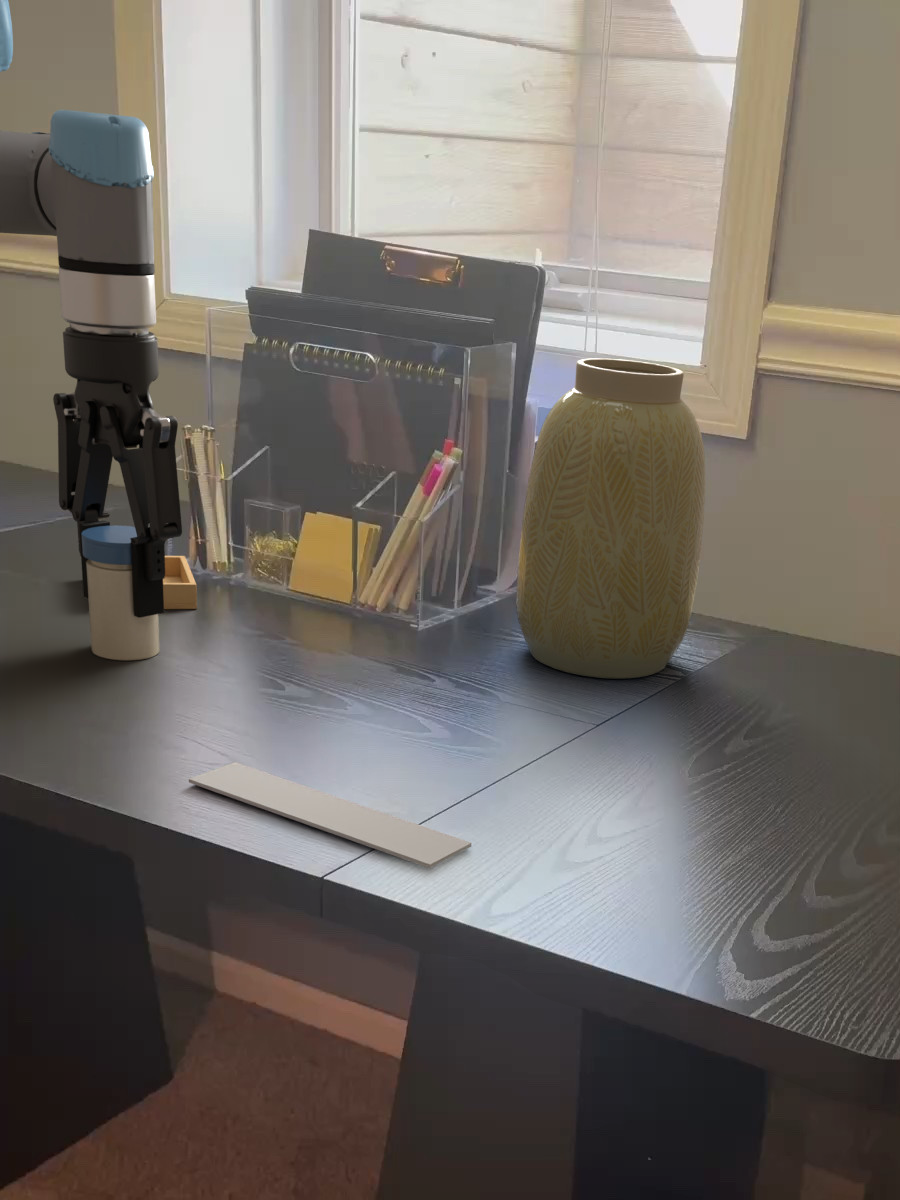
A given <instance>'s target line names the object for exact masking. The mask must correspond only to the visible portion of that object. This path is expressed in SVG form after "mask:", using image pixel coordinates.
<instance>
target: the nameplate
mask: <svg viewBox="0 0 900 1200" xmlns="http://www.w3.org/2000/svg"><path fill="white" fill-rule="evenodd" d="M188 783H189V784H192V785H195V786H197V787H201V788H203V789H206V790H209V791H212V792H214V793H217V794H220V795H223V796H224V797H225V796H226V797H228V798H231V799H233V800H237V801H240V802H242V803H245V804H247V805H250V806H254V807H256V808H260V809H262V810H265V811H268V812H271V813H273V814H276V815H279V816H281V817H285V818H287V819H290V820H293V821H296V822H298V823H301V824H304V825H307V826H310V827H313V828H316V829H318V830H321V831H323V832H327V833H329V834H332V835H335V836H337V837H341V838H344V839H346V840H350V841H352V842H355V843H358V844H360V845H363V846H366V847H369V848H372V849H375V850H377V851H380V852H383V853H386V854H388V855H391V856H394V857H397V858H400V859H402V860H406V861H408V862H411V863H414V864H416V865H419V866H422V867H425V868H427V869H431V868H434V867H435V866H437V865H439V864H441V863H443V862H445V861H446V860H449V859H451V858H452V857H455V856H456V855H458V854H460V853H462V852H463V851H465V850H467V849H470V848H472V842H470V841H468V840H465V839H462V838H459V837H456V836H453V835H450V834H447V833H444V832H441V831H438V830H435V829H432V828H430V827H427V826H424V825H421V824H418V823H415V822H412V821H409V820H406V819H403V818H400V817H399V816H398V817H397V816H394V815H392V814H389V813H386V812H383V811H380V810H377V809H373V808H372V807H369V806H365V805H362V804H359V803H357V802H354V801H350V800H348V799H345V798H342V797H339V796H336V795H333V794H330V793H327V792H324V791H321V790H319V789H315V788H314V787H313V788H312V787H310V786H307V785H304V784H300V783H298V782H295V781H292V780H289V779H286V778H283V777H280V776H277V775H275V774H272V773H269V772H265V771H264V770H260V769H257V768H254V767H251V766H249V765H245V764H242V763H239V762H236V761H234V762H232V763H228V764H226V765H223V766H220V767H217V768H216V769H212V770H210V771H207V772H203V773H200V774H198V775H195V776H192V777H189V778H188Z"/></svg>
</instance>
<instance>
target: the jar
mask: <svg viewBox="0 0 900 1200" xmlns="http://www.w3.org/2000/svg"><path fill="white" fill-rule="evenodd" d="M86 567H87V584H88V598H87V599H88V615H89V630H90V631H89V632H90V634H89V635H90V647H91V652H92V654H93V655H95V656H97V657H100V658H103V659H108V660H113V661H140V660H147V659H150V658H153V657H155V656H157V655H158V654H160V650H161V649H160V648H161V647H160V623H159V622H160V621H159V614H156V615H151V616H146V617H141V618H139V617H136V616H134V604H133V582H132V564H131V565H119V564H107V563H100V562H96V561H92V560H89V559H88V560H87V562H86Z"/></svg>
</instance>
